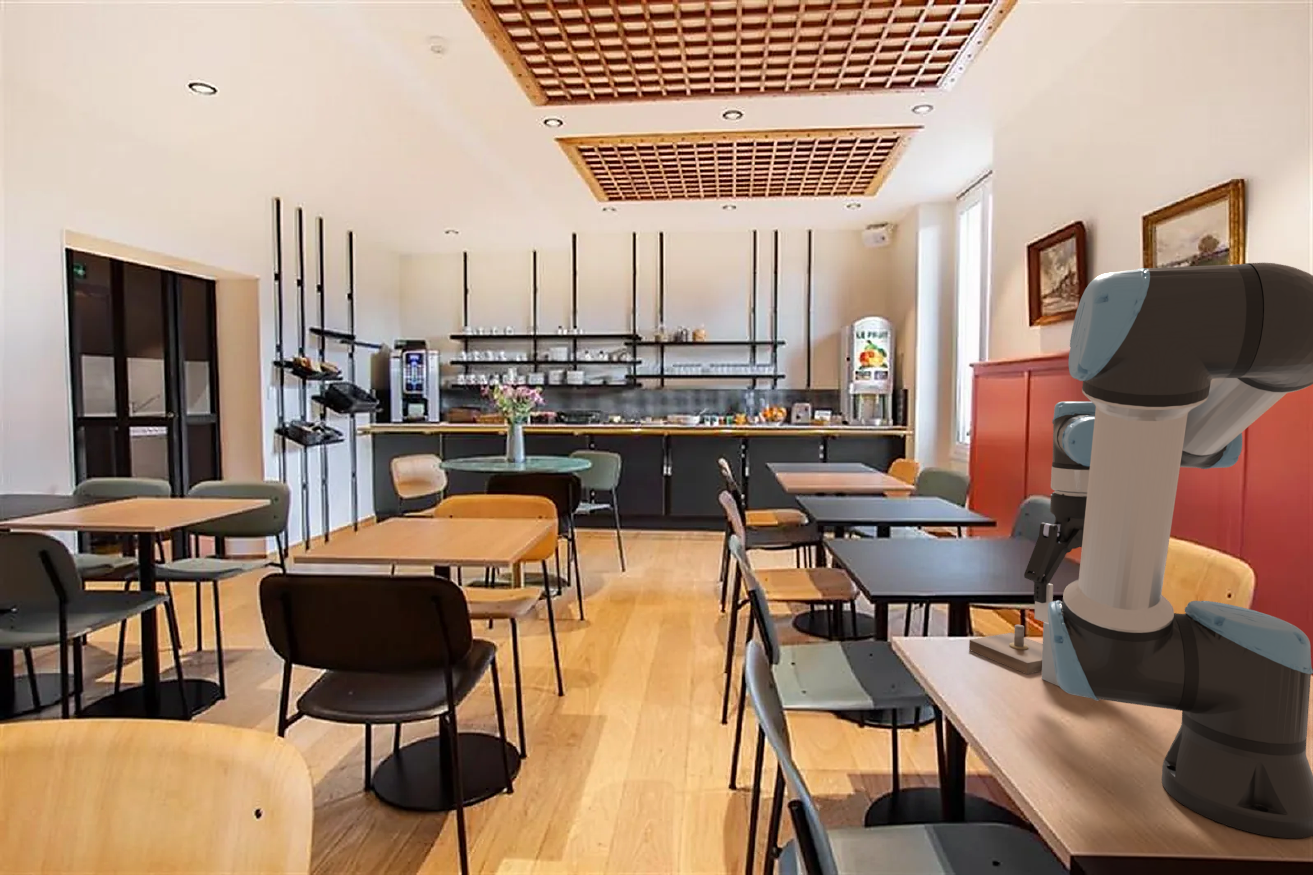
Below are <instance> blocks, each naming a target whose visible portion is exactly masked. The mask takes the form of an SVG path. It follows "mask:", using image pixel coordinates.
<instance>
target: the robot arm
mask: <svg viewBox="0 0 1313 875" xmlns="http://www.w3.org/2000/svg"><path fill="white" fill-rule="evenodd" d="M1069 341H1070V342H1069V347H1070V348H1069V352H1068V353H1069V354H1068V370H1069V371H1068V372H1069V375H1070V376H1071V377H1072V378H1073V379H1074V380H1078V382H1079V381H1080V382H1082V386H1081V392H1082V394H1083V395H1084V396H1085V397H1086V398H1087V399H1088V401H1075V400H1074V401H1071V400H1070V401H1059V402H1057V403H1056V404H1055V405H1054V409H1053V411H1054V412H1053V418H1052V422H1051V423H1052V425H1053V426H1052V430H1053V431H1052V463H1051V474H1050V478H1051V479H1050V489H1051V490H1053V492H1052V493H1050V507H1049V508H1050V509H1049V512H1050V513H1051V514H1052V515H1053V516H1054V517H1055V520H1054V523H1047V522H1041V523H1040V525H1039V534H1038V537H1037V540H1036V542H1035V544H1034V548H1033V551H1032V553H1031V556H1030V558H1029V561H1028V564H1027V565H1026V569H1025V572H1024V574H1023V576H1024V579H1027V580H1028V581H1032V582H1033V584H1034V585H1033V601H1034V617H1033V618H1034V620H1037V621H1041V622H1042V623H1043V622H1046V623H1048V624H1049V632H1050V641H1051V649H1052V656H1053V663H1054V669H1055V674H1056V679H1057V682H1058V684H1059V686H1058V687H1060V689H1061V690H1063V691H1064V692H1065V693H1067V694H1069V695H1071V696H1072V695H1073V696H1078V697H1084V698H1089V699H1093V700H1094V701H1097V702H1098V701H1100V700H1103V701H1111V702H1117V703H1123V704H1130V705H1139V706H1145V707H1152V708H1160V709H1166V710H1175V711H1180V712H1181V711H1182V712H1181V725H1180V728H1179V730H1178V732H1177V733H1176V736H1175V737H1174V740H1173V741H1172V743H1171V745H1170V748H1169V749H1168V751H1167V753H1166V755H1165V757H1164V759H1163V763H1162V765H1161V766H1162V770H1161V784H1162V786H1163V787H1164V789H1165V791H1166V792H1167V793H1168V794H1169V795H1170V796H1171V797H1172V798H1173V799H1175V800H1176V801H1177V802H1179V803H1180V804H1182V805H1183V806H1184V807H1186V808H1187V809H1189V810H1191V811H1193V812H1195V813H1197V814H1199V815H1201V816H1203V817H1206V818H1207V819H1211V820H1212V821H1215V822H1217V823H1220V824H1223V825H1225V826H1228V827H1231V828H1235V829H1237V830H1241V831H1244V832H1247V833H1252V834H1258V835H1261V836H1268V837H1273V838H1285V839H1302V838H1309V837H1312V836H1313V772H1312V769H1311V766H1310V765H1311V764H1310V763H1309V759H1308V757H1307V740H1308V739H1307V738H1308V723H1309V709H1310V708H1309V705H1310V691H1311V678H1312V675H1313V668H1312V658H1311V656H1312V655H1311V654H1312V652H1311V642H1310V639H1309V637H1308V636H1307V635H1306V633H1305V632H1304V631H1303V630H1301V629H1300V628H1299V627H1297V626H1296V625H1294V624H1292V623H1290V622H1288V621H1285V620H1284V619H1281V618H1279V617H1276V616H1273V615H1270V614H1266V613H1263V612H1260V611H1258V610H1254V609H1250V608H1246V607H1243V606H1238V605H1233V604H1229V603H1228V604H1227V603H1223V602H1219V601H1218V602H1217V601H1210V600H1192V601H1190V602H1188V603H1187V604H1186V606H1185V607H1184V612H1185V613H1177V612H1175V610H1174V607H1173V605H1172V603H1171V601H1170V600H1168V599H1167V598H1166V597H1165V596H1164V595H1163V594H1162V592H1163V586H1164V578H1165V571H1166V566H1167V565H1166V564H1167V558H1168V551H1169V550H1168V549H1169V543H1170V537H1171V531H1172V524H1173V516H1174V510H1175V502H1176V497H1177V489H1178V483H1179V475H1180V470H1181V469H1180V468H1189V469H1190V468H1192V469H1193V468H1195V469H1196V468H1197V469H1201V470H1207V469H1208V470H1209V469H1217V468H1218V469H1219V468H1221V469H1223V468H1230V467H1232V466H1234V465H1236V463H1237V462H1238V461H1239V457H1240V455H1241V453H1242V450H1243V432H1244V431H1245V430H1246V429H1247V428H1248V427H1250V426H1251V425H1252V424H1253V423H1254V422H1256V421H1257V420H1258V419H1259V418H1260V417H1262V416H1263V415H1264V413H1266V412H1267V411H1268V410H1269V409H1271V408H1272V407H1273V406H1274V405H1275V404H1276V403H1277V402H1279V401H1280V400H1281V399H1282V398H1283V397H1284V396H1286V394H1289V393H1294V392H1297V391H1300V390H1301V391H1302V390H1304V389H1306V388H1309V387H1310V386H1312V385H1313V275H1312V274H1311V273H1309V272H1307V271H1305V270H1301V269H1300V268H1297V267H1294V266H1289V265H1286V264H1281V263H1275V262H1249V263H1248V262H1247V263H1241V264H1240V263H1238V264H1237V263H1236V264H1222V265H1221V264H1217V265H1197V266H1195V265H1194V266H1170V267H1151V268H1150V267H1149V268H1148V267H1147V268H1146V267H1145V268H1144V267H1138V268H1137V269H1129V270H1121V271H1111V272H1107V273H1102V274H1099V275H1098V276H1096V277H1095V278H1093V279H1092V280H1091V281H1090V282H1089V283H1088V285H1087V287H1085V289H1084V291H1083V294H1082V296H1081V298H1080V300H1079V304H1078V307H1077V309H1076V313H1075V317H1074V321H1073V325H1072V329H1071V335H1070V339H1069ZM1078 548H1081V550H1080V551H1081V554H1080V563H1079V564H1080V565H1079V572H1078V573H1079V574H1078V579H1075V580H1074V581H1071V582H1070V583H1068V585H1066V587H1065V589H1064V590H1063V594H1062V596H1063V597H1062V601H1061V600H1059V599H1057V600H1053V599H1054V598H1053V597H1054V584H1052V583H1050V582H1051V580H1052V579H1053V577H1054V576H1055V574H1056V573H1057V571H1058V569H1059V566H1060V565H1061V564H1062V562H1063V560H1064V559H1065V557H1066V555H1067V554H1068V553H1070V552H1071V553H1072V550H1075V549H1078Z"/></svg>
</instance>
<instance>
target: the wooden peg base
mask: <svg viewBox="0 0 1313 875" xmlns="http://www.w3.org/2000/svg"><path fill="white" fill-rule="evenodd" d="M968 646H969V649H968V650H969V651H970V652H974V653H975V654H978V655H981V656H983V657H985V658H987V659H990V660H992V661H995V662H997V663H999V664H1003V665H1004V666H1006V667H1009V668H1012V669H1013V670H1017V671H1019V672H1021V673H1024V674H1025V675H1031V674H1033V673H1035V674H1036V673H1040V672H1042V652H1043V643H1040V642H1039V641H1035V640H1032V639H1029V638H1027V637H1025V625H1021V624H1015V625H1014V632H1008V633H1007V632H1006V633H1002V634H996V635H990V636H985V637H979V638H973V639H969V643H968Z"/></svg>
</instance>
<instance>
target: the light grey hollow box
mask: <svg viewBox="0 0 1313 875" xmlns="http://www.w3.org/2000/svg"><path fill="white" fill-rule="evenodd" d="M1042 623H1043V624H1042V625H1043V628H1042V644H1043V652H1042V671H1041V679H1042V680H1043V681H1046V682H1048V683H1050V684H1053V685H1055V686H1058V687H1060V686H1059V684H1058V682H1057V679H1056V674H1055V669H1054V663H1053V656H1052V649H1051V641H1050V632H1049V624H1048V623H1046V622H1043V621H1042Z"/></svg>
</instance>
